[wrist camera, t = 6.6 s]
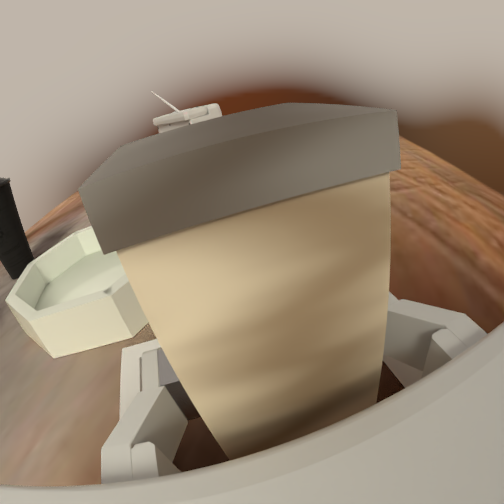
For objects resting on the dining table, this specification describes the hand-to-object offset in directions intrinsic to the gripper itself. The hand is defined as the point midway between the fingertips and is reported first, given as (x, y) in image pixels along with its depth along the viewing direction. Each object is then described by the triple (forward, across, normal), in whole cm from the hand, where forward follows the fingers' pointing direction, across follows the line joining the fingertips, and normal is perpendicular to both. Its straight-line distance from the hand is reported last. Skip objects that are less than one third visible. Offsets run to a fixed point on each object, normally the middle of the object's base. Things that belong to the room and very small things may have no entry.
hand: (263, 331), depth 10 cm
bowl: (+21, +12, +8) cm, 25 cm away
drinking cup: (+35, +29, +8) cm, 46 cm away
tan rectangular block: (-1, 0, +8) cm, 8 cm away
